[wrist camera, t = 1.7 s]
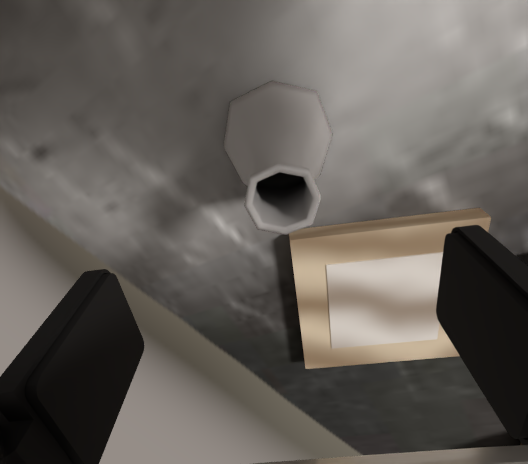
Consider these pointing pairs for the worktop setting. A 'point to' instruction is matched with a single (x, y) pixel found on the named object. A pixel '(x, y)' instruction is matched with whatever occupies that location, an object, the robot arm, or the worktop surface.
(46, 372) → the robot arm
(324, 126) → the flask
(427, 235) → the base plate
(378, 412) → the worktop surface
